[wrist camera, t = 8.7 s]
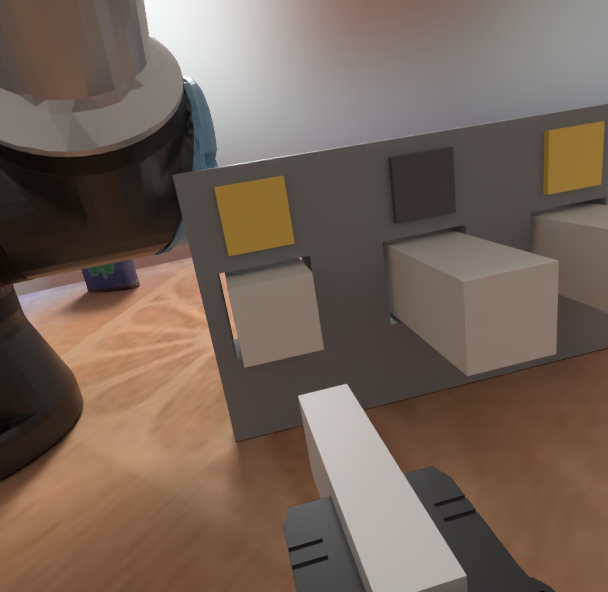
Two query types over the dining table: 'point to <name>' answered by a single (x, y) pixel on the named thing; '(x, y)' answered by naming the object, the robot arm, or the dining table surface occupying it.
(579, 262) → the button right
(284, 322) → the button left
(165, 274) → the dining table surface
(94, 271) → the flask
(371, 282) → the light board
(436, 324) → the button mid
